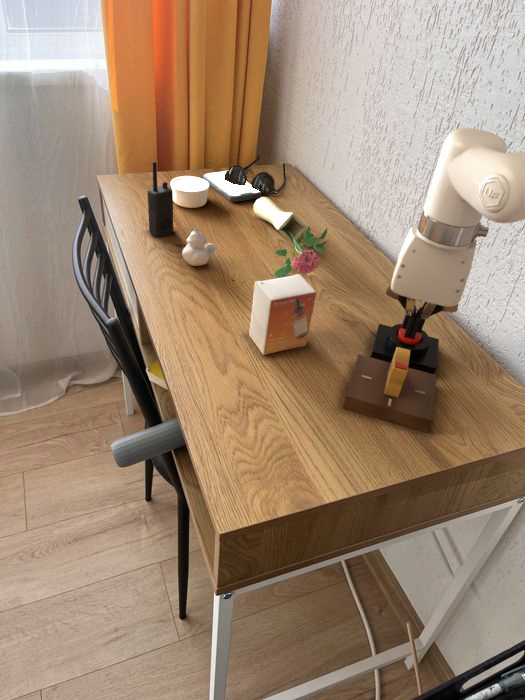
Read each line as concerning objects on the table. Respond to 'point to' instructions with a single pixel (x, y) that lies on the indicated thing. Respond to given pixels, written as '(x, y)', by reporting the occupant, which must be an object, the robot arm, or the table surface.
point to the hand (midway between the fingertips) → (409, 332)
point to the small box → (281, 313)
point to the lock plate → (405, 409)
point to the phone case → (231, 187)
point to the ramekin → (189, 191)
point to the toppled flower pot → (291, 236)
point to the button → (408, 339)
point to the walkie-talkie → (160, 207)
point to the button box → (420, 354)
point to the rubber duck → (198, 249)
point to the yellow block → (397, 372)
